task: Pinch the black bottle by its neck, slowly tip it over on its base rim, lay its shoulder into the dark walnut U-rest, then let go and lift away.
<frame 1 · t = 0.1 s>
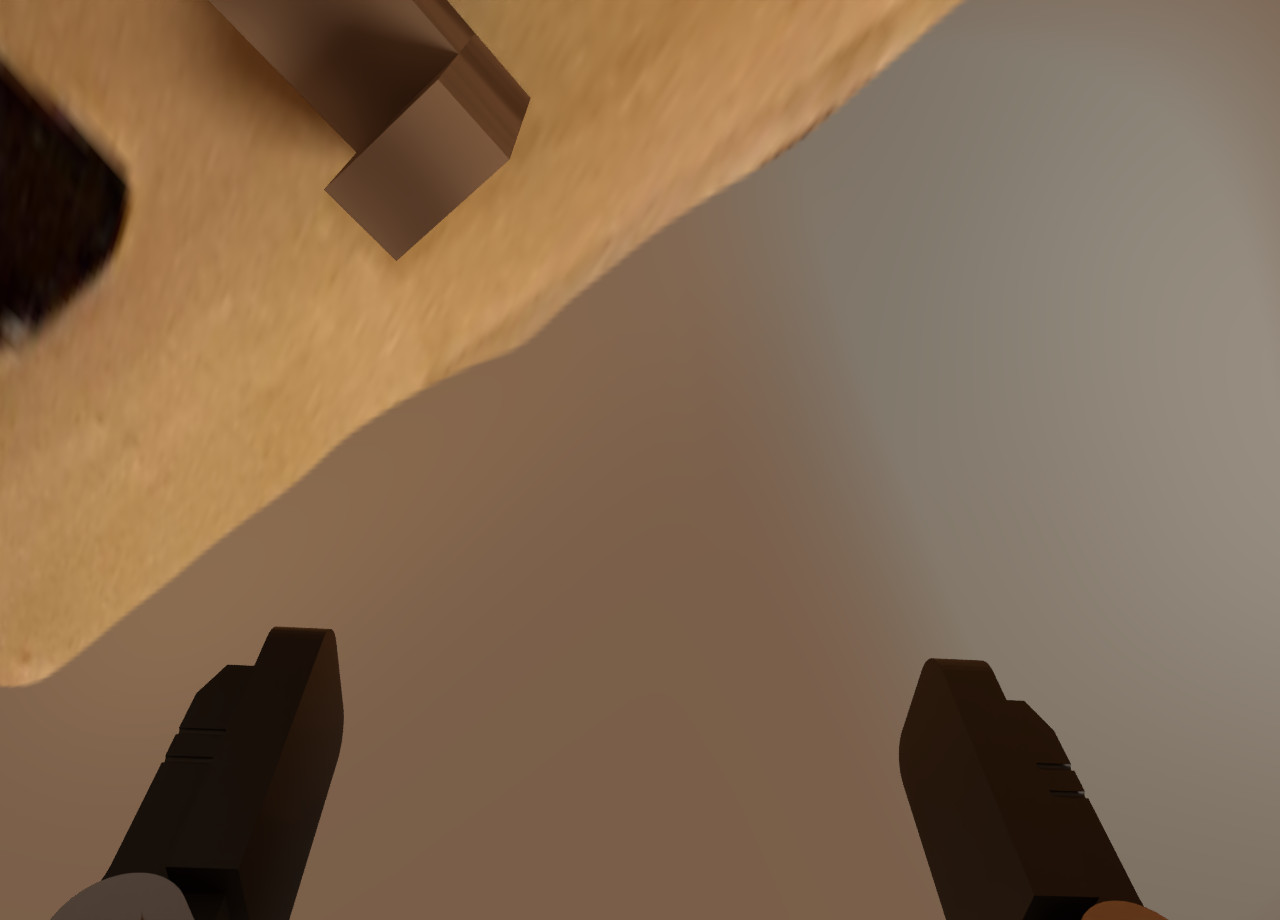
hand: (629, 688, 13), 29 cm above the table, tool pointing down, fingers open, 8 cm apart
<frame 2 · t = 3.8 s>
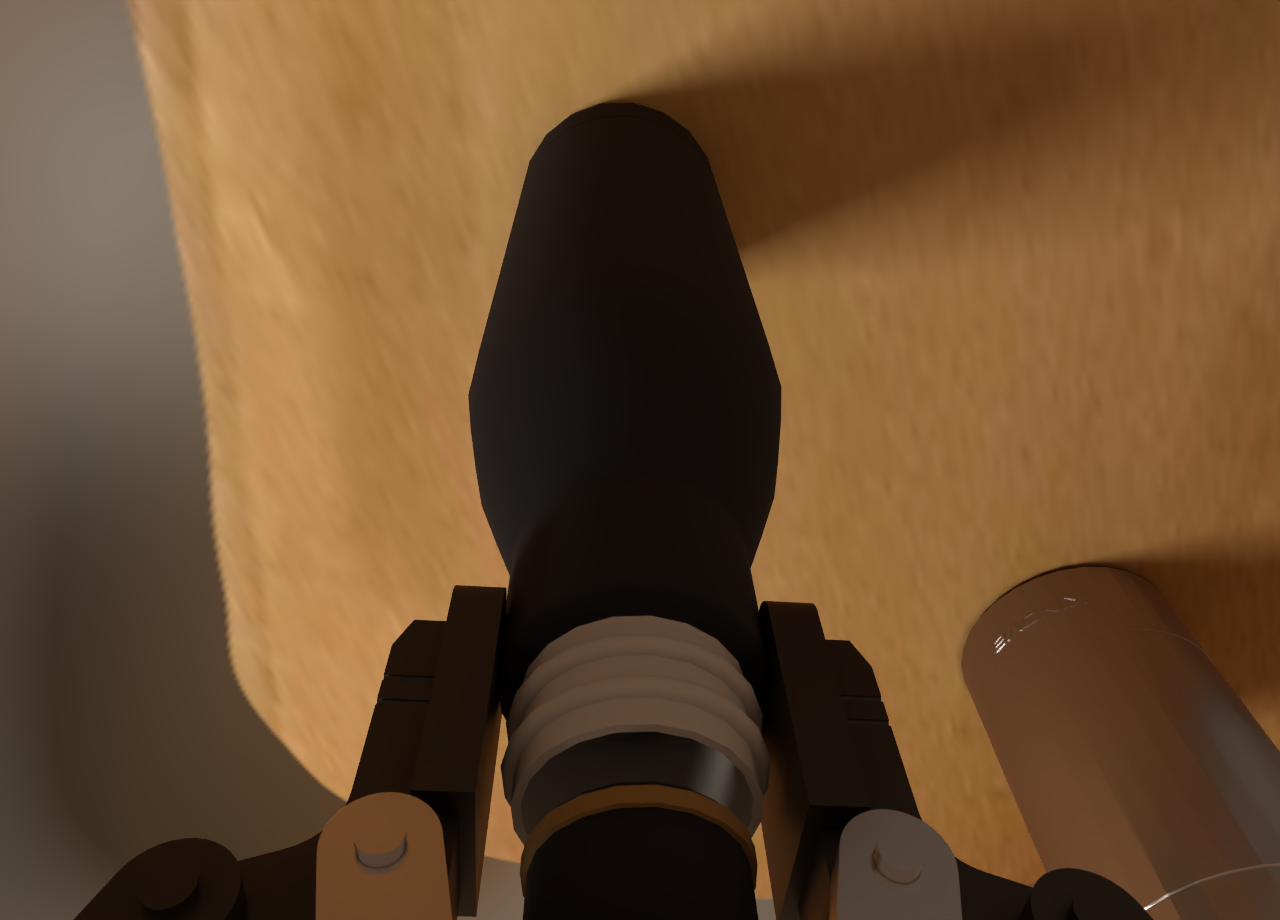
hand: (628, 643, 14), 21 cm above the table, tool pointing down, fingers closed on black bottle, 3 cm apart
black bottle: (619, 200, 32), on the table, touching gripper
when the fingers open (9 cm above the table, at t = 11.3 s): black bottle drops 1 cm, resting on walnut U-rest.
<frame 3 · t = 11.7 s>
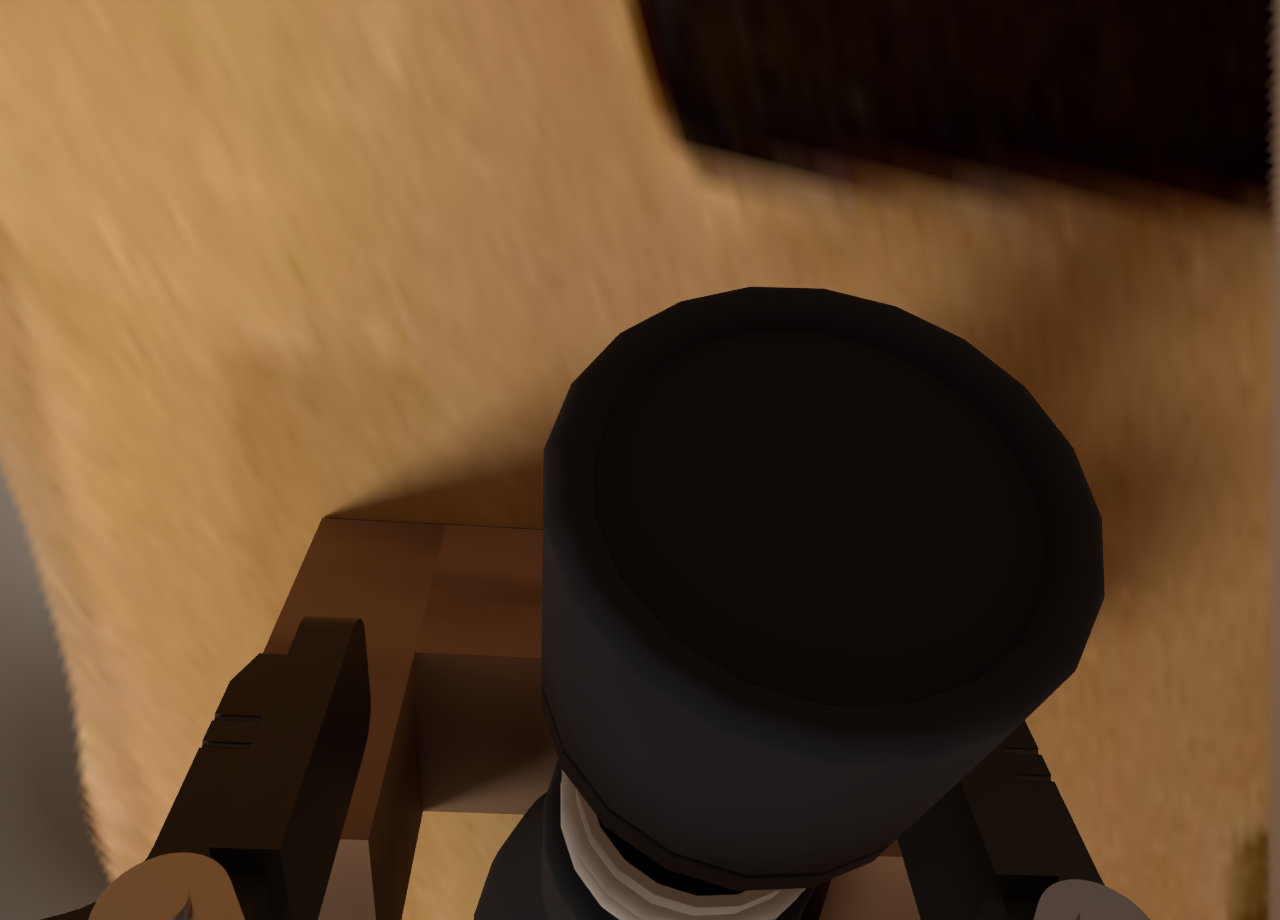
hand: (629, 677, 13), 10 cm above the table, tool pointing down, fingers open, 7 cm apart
walnut U-rest: (601, 610, 25), on the table
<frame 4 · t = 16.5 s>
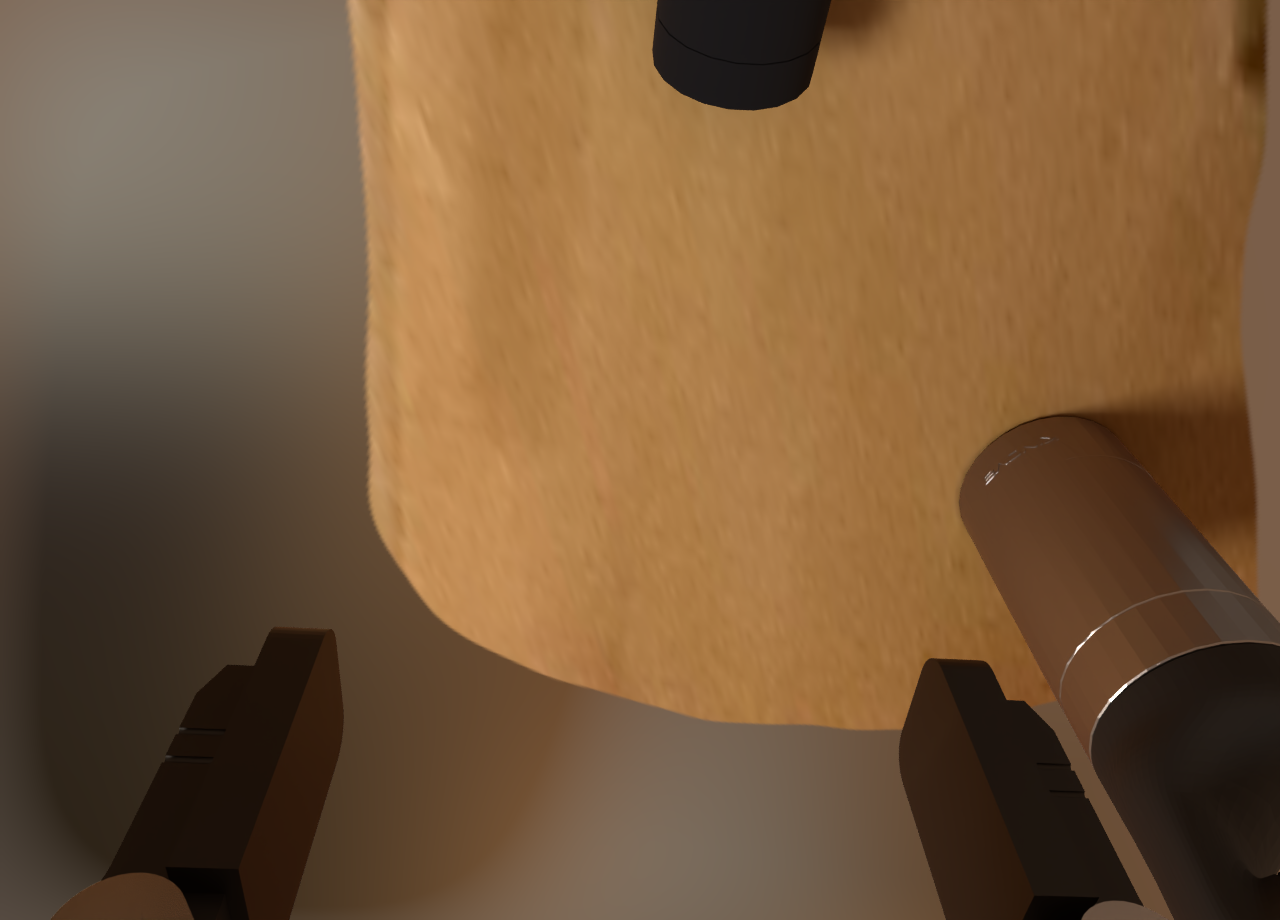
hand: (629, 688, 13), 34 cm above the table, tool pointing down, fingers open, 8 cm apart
black bottle: (731, 68, 38), point 3 cm above the table, touching walnut U-rest
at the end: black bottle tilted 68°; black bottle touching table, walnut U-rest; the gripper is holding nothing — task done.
